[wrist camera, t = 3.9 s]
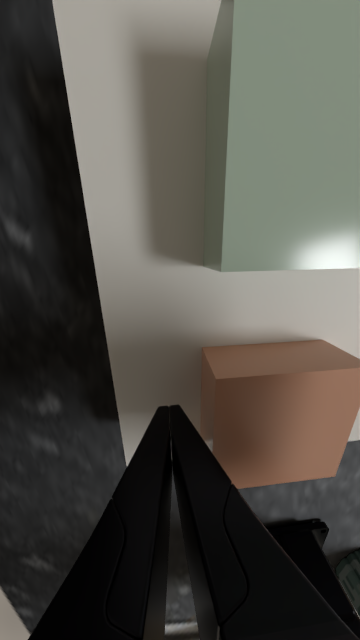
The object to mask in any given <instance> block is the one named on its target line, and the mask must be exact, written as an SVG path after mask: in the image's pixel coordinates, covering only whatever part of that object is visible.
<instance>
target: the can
mask: <svg viewBox="0 0 360 640" xmlns="http://www.w3.org/2000/svg"><path fill="white" fill-rule="evenodd" d="M335 570H336V571H337V572H336V575H337V576H338V578H339V580H340V582H341V584H342V585H343V587H344V589H345V591H346V593H347V595H348V596H349V598H350V600H351V602H352V604H353V606H354V607H355V609H356V611H357V612H358V615H359V616H360V549H359V550H358V551H354V553H353V554H349V555H348V557H347V558H343V559H342V560H341V562H340V563H339V565H338V566H337V567H336V569H335Z"/></svg>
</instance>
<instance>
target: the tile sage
mask: <svg viewBox="0 0 360 640" xmlns="http://www.w3.org/2000/svg"><path fill="white" fill-rule="evenodd" d="M203 267H206V268H209V269H212V270H216V271H219V272H244V271H276V270H309V269H342V268H360V0H221V4H220V8H219V12H218V17H217V21H216V25H215V29H214V33H213V37H212V41H211V46H210V50H209V54H208V58H207V98H206V152H205V206H204V259H203Z"/></svg>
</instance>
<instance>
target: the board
mask: <svg viewBox="0 0 360 640" xmlns="http://www.w3.org/2000/svg"><path fill="white" fill-rule="evenodd" d="M52 2H53V8H54V14H55V20H56V27H57V33H58V39H59V45H60V52H61V58H62V64H63V70H64V77H65V83H66V89H67V96H68V102H69V108H70V114H71V121H72V127H73V133H74V139H75V146H76V152H77V158H78V164H79V171H80V177H81V183H82V190H83V196H84V202H85V208H86V215H87V221H88V227H89V233H90V240H91V246H92V252H93V258H94V265H95V271H96V277H97V284H98V290H99V296H100V302H101V309H102V315H103V321H104V327H105V334H106V340H107V346H108V352H109V359H110V365H111V371H112V378H113V384H114V390H115V396H116V403H117V409H118V415H119V421H120V428H121V434H122V440H123V446H124V453H125V459H126V465H127V466H128V464H129V462H130V460H131V458H132V457H133V455H134V453H135V451H136V449H137V447H138V445H139V443H140V441H141V439H142V437H143V435H144V433H145V431H146V429H147V427H148V425H149V423H150V421H151V420H152V418H153V416H154V414H155V412H156V410H157V408H158V407H159V406H166V405H167V406H170V405H177V404H178V405H180V406H181V408H182V409H183V411H184V412H185V413H186V415H187V416H188V418H189V419H190V421H191V422H192V424H193V425H194V427H195V428H196V430H197V431H198V433H199V434H200V420H201V366H202V347H215V346H230V345H246V344H262V343H278V342H293V341H309V340H325V341H326V342H328V343H330V344H332V345H334V346H336V347H338V348H340V349H342V350H343V351H345V352H347V353H349V354H351V355H353V356H355V357H357V358H359V359H360V268H342V269H309V270H276V271H244V272H219V271H216V270H212V269H209V268H206V267H203V259H204V206H205V152H206V98H207V58H208V54H209V50H210V46H211V41H212V37H213V33H214V29H215V25H216V21H217V17H218V12H219V8H220V4H221V0H52ZM169 418H170V416H169ZM170 436H171V434H170ZM355 440H360V408H359V411H358V413H357V416H356V419H355V422H354V425H353V427H352V430H351V433H350V436H349V439H348V441H355ZM171 454H172V452H171Z"/></svg>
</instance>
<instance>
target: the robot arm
mask: <svg viewBox="0 0 360 640" xmlns="http://www.w3.org/2000/svg"><path fill="white" fill-rule="evenodd" d="M169 416H170V418H169ZM170 434H171V436H170ZM171 452H172V454H171ZM172 467H173V476H174V482H175V489H176V495H177V501H178V507H179V513H180V519H181V525H182V532H183V538H184V544H185V550H186V556H187V562H188V569H189V575H190V581H191V587H192V593H193V599H194V605H195V612H196V618H197V624H198V630H199V636H200V640H360V619H359V617H358V615H357V613H356V611H355V609H354V607H353V605H352V603H351V602H350V600H349V598H348V596H347V594H346V592H345V591H344V589H343V587H342V585H341V583H340V581H339V580H338V578H337V576H336V574H335V572H334V570H333V569H332V567H331V565H330V563H329V561H328V560H327V558H326V556H325V554H324V552H323V550H322V547H323V544H324V542H325V539H326V537H327V534H328V531H329V528H328V527H327V525H326V524H325V522H316V523H309V524H302V525H295V526H289V527H282V528H275V529H268V530H267V529H266V528H265V526H264V525H263V524H262V523H261V521H260V520H259V519H258V517H257V516H256V515H255V513H254V512H253V511H252V509H251V508H250V506H249V505H248V504H247V502H246V501H245V500H244V498H243V497H242V495H241V494H240V492H239V491H238V489H237V488H236V487H235V485H234V484H232V481H231V479H230V478H229V476H228V475H227V474H226V472H225V471H224V469H223V468H222V466H221V465H220V463H219V462H218V460H217V459H216V457H215V456H214V454H213V453H212V452H211V450H210V449H209V447H208V446H207V444H206V443H205V441H204V440H203V438H202V437H201V435H200V434H199V433H198V431H197V430H196V428H195V427H194V425H193V424H192V422H191V421H190V419H189V418H188V416H187V415H186V413H185V412H184V411H183V409H182V408H181V406H180V405H178V404H177V405H170V406H167V405H166V406H159V407H158V408H157V410H156V412H155V414H154V416H153V418H152V420H151V421H150V423H149V425H148V427H147V429H146V431H145V433H144V435H143V437H142V439H141V441H140V443H139V445H138V447H137V449H136V451H135V453H134V455H133V457H132V458H131V460H130V462H129V464H128V466H127V468H126V470H125V472H124V474H123V476H122V478H121V480H120V482H119V484H118V486H117V488H116V490H115V492H114V493H113V495H112V499H111V500H110V501H109V503H108V505H107V507H106V509H105V511H104V513H103V515H102V517H101V518H100V520H99V522H98V524H97V526H96V528H95V529H94V531H93V533H92V535H91V537H90V539H89V540H88V542H87V544H86V546H85V547H84V549H83V551H82V552H81V554H80V556H79V557H78V559H77V561H76V562H75V564H74V566H73V567H72V569H71V571H70V572H69V574H68V576H67V577H66V579H65V580H64V582H63V584H62V585H61V587H60V589H59V590H58V592H57V593H56V595H55V597H54V598H53V600H52V601H51V603H50V605H49V606H48V608H47V610H46V611H45V613H44V614H43V616H42V618H41V619H40V621H39V622H38V624H37V626H36V627H35V629H34V631H33V632H32V634H31V635H30V637H29V639H28V640H164V634H165V613H166V593H167V572H168V551H169V531H170V510H171V490H172Z"/></svg>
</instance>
